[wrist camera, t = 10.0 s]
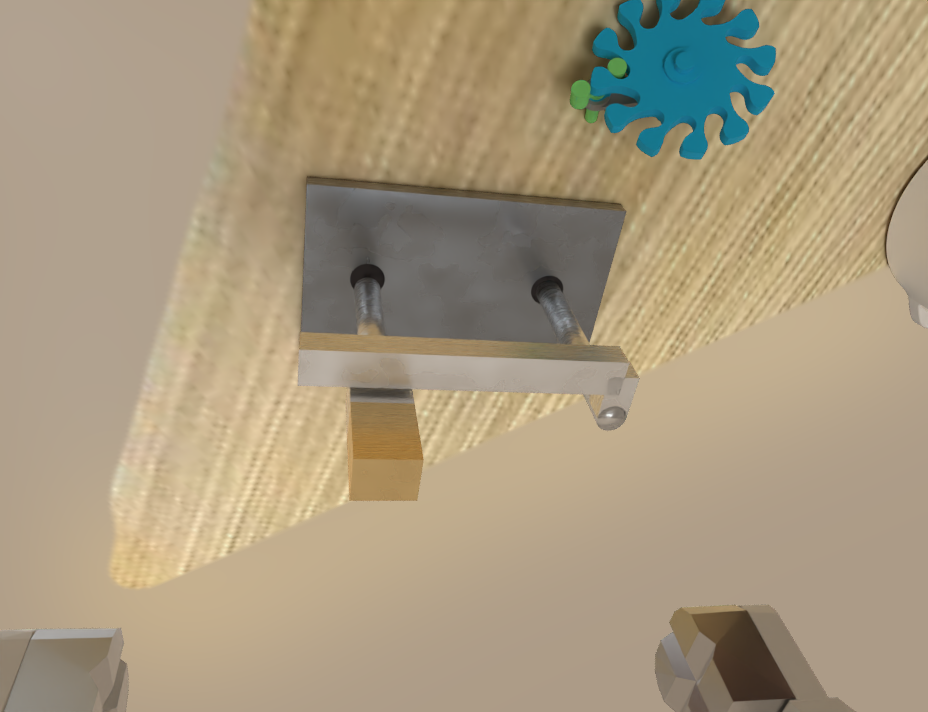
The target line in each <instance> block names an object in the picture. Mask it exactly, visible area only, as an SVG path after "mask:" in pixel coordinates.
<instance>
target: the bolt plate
mask: <svg viewBox="0 0 928 712" xmlns="http://www.w3.org/2000/svg"><path fill="white" fill-rule="evenodd" d="M625 215H626V210H625V209H624V208H623V207H622V206H621V204H613V203H602V202H590V201H579V200H568V199H556V198H545V197H533V196H522V195H511V194H499V193H488V192H476V191H465V190H454V189H442V188H431V187H419V186H408V185H396V184H385V183H374V182H362V181H351V180H339V179H328V178H317V177H307V192H306V218H305V244H304V271H303V297H302V323H301V332H310V333H333V334H355V335H357V321H356V306H355V292H354V288H355V285H356V283H357V282H358V281H359V280H361V279H363V278H372V279H374V280H376V281H377V282H378V283H379V285H380V291H381V299H382V306H383V314H384V322H385V330H386V336H399V337H421V338H443V339H465V340H488V341H510V342H532V343H554V344H559V342H558V340H557V338H556V336H555V334H554V332H553V330H552V328H551V325H550V323H549V321H548V319H547V317H546V315H545V313H544V311H543V309H542V306H541V304H540V302H539V300H538V298H537V296H536V288H537V286H538V285H539V284H540V283H541V282H543V281H546V280H552V281H555V282H556V283H557V284H558V286H559V288H560V290H561V292H562V293H563V295H564V297H565V299H566V301H567V303H568V305H569V307H570V308H571V310H572V312H573V314H574V316H575V318H576V320H577V322H578V323H579V325H580V327H581V329H582V331H583V333H584V335H585V336H586V338H587V340H588V342H590V338H591V335H592V331H593V328H594V324H595V321H596V317H597V313H598V310H599V306H600V303H601V299H602V296H603V292H604V289H605V285H606V282H607V278H608V275H609V271H610V268H611V264H612V260H613V257H614V253H615V250H616V246H617V243H618V239H619V236H620V232H621V229H622V225H623V222H624V218H625Z"/></svg>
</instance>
